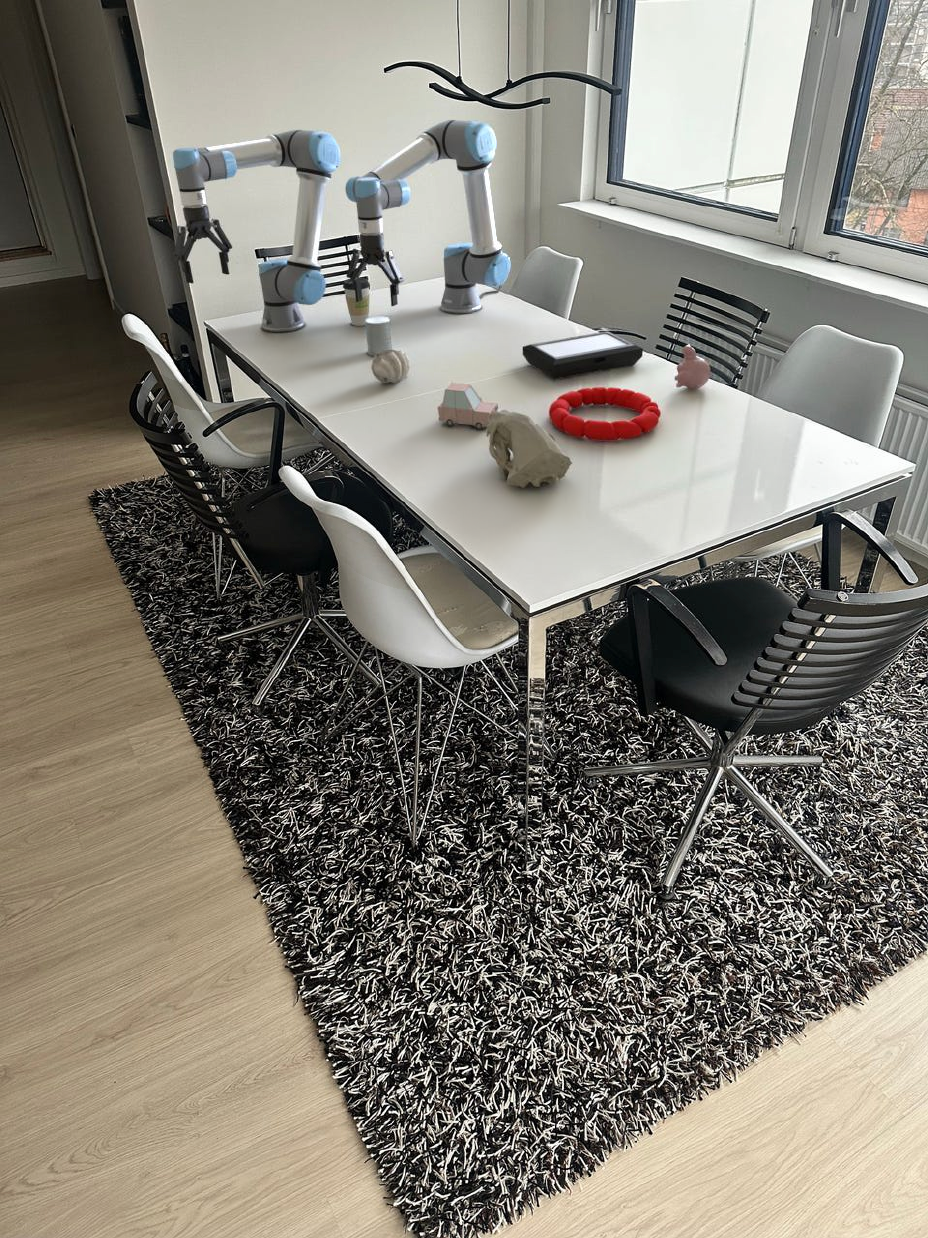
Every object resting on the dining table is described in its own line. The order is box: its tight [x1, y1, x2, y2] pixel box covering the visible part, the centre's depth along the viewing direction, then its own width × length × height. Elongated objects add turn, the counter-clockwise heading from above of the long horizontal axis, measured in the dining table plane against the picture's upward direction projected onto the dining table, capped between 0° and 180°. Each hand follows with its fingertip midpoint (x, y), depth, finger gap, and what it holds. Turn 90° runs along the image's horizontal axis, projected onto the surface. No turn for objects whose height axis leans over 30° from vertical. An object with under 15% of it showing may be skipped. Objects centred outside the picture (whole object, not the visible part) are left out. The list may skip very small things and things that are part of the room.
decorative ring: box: [548, 386, 661, 442], centre depth 242 cm, size 7×30×30 cm
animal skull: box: [485, 409, 573, 489], centre depth 216 cm, size 17×25×20 cm
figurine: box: [674, 344, 711, 390], centre depth 259 cm, size 9×11×12 cm
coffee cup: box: [342, 277, 371, 327], centre depth 323 cm, size 10×10×15 cm
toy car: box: [437, 382, 499, 431], centre depth 243 cm, size 9×15×10 cm, turn 70°
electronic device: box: [522, 330, 644, 381], centre depth 281 cm, size 32×6×20 cm
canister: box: [365, 315, 393, 357], centre depth 296 cm, size 8×8×11 cm
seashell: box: [371, 349, 411, 384], centre depth 271 cm, size 10×15×10 cm
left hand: (208, 278), depth 283 cm, fingers open, 13 cm apart
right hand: (376, 302), depth 289 cm, fingers open, 13 cm apart
